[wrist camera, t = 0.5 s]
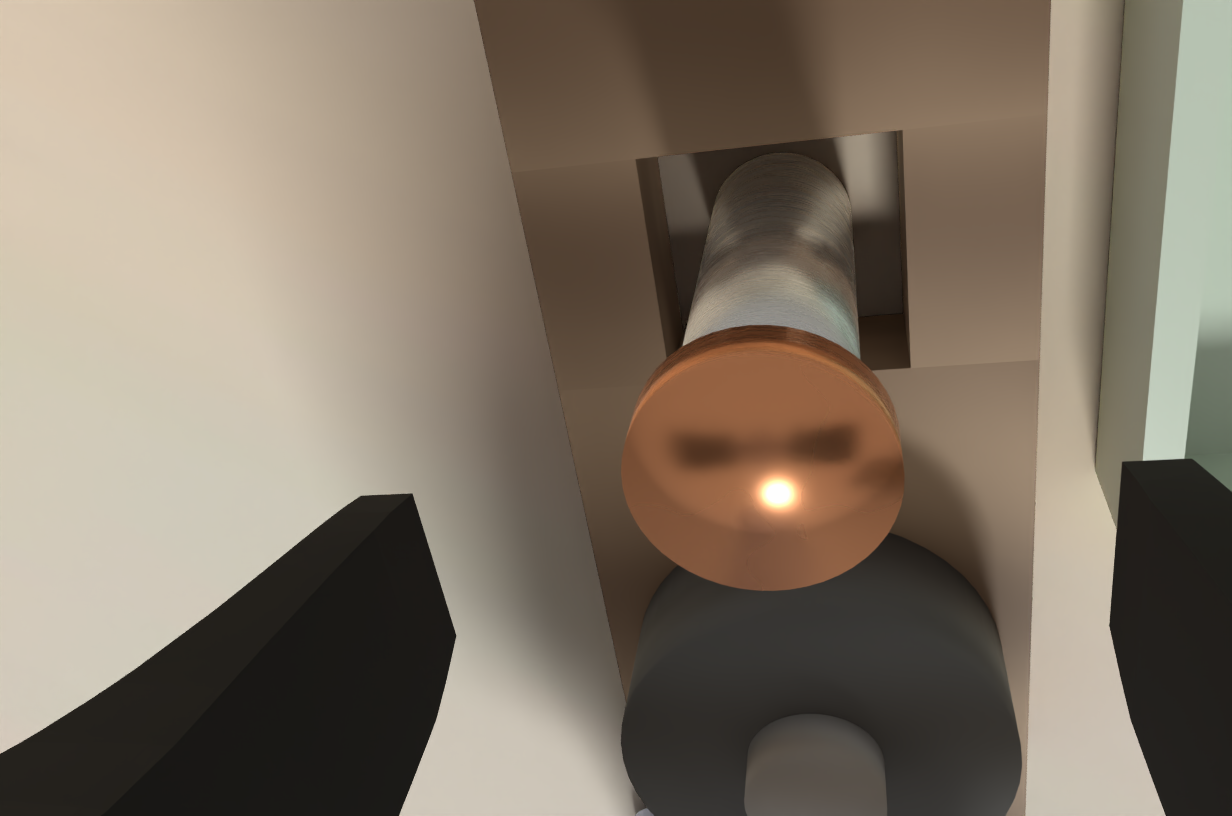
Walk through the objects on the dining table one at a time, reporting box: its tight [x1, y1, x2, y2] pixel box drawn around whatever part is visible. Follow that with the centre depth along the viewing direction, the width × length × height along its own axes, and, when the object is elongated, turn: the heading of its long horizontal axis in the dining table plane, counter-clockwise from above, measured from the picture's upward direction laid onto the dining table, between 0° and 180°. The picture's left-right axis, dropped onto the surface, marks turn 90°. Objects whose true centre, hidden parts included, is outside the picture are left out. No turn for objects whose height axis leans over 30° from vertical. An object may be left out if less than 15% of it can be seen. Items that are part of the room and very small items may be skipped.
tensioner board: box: [474, 0, 1051, 816], centre depth 19 cm, size 18×8×6 cm, turn 9°
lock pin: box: [621, 152, 905, 591], centre depth 16 cm, size 3×3×8 cm
